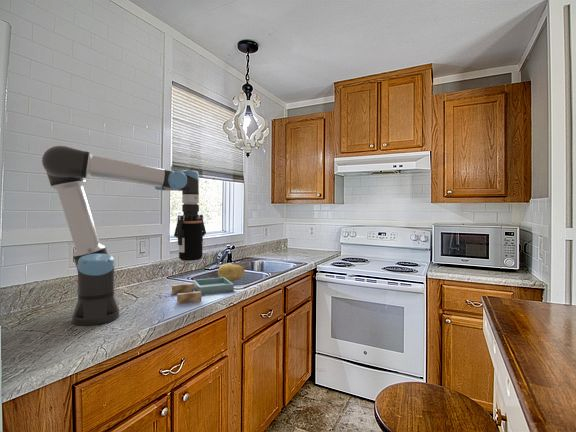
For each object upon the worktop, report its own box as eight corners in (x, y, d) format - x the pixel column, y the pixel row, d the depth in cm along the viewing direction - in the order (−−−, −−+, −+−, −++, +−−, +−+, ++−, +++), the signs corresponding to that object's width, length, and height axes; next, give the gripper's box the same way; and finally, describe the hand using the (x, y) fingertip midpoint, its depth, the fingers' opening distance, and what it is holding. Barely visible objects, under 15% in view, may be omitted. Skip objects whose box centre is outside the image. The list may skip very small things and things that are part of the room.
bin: (199, 294, 155) (199, 287, 155) (192, 286, 170) (192, 280, 170) (233, 290, 162) (233, 284, 162) (224, 283, 178) (224, 277, 177)
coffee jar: (199, 256, 159) (199, 220, 159) (204, 259, 150) (204, 221, 149) (177, 258, 154) (176, 220, 154) (180, 261, 145) (180, 221, 144)
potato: (222, 277, 191) (222, 262, 191) (245, 279, 188) (246, 263, 188) (215, 281, 182) (215, 264, 181) (239, 283, 178) (239, 266, 178)
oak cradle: (177, 303, 140) (178, 294, 140) (171, 293, 157) (171, 284, 156) (201, 301, 144) (201, 292, 144) (192, 290, 161) (193, 283, 161)
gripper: (177, 203, 139) (177, 254, 140) (213, 203, 160) (213, 248, 160) (165, 203, 143) (165, 253, 144) (202, 203, 163) (202, 247, 164)
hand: (190, 250), depth 152 cm, fingers closed on coffee jar, 11 cm apart
